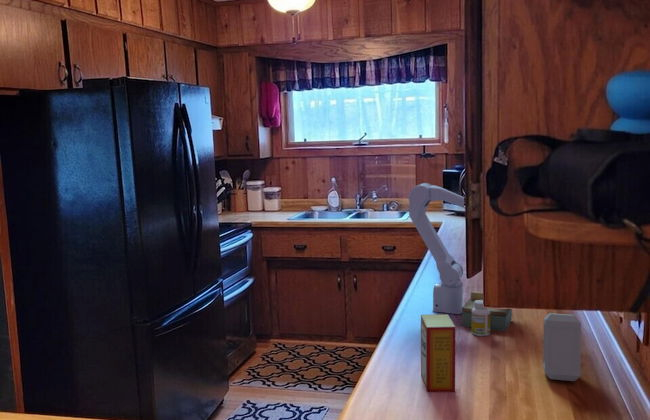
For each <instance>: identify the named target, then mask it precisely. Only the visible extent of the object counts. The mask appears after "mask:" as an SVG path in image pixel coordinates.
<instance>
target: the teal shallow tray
mask: <svg viewBox="0 0 650 420" xmlns="http://www.w3.org/2000/svg"><path fill="white" fill-rule="evenodd" d="M512 312H513V308H512V309H510V311H509V312H508V314H507V316H502V315H493V314H490V331H491V330H493V331H499V332H500V331H501V332H506V331H507V330H508V328H509V326H510V324H511V323H512V321H511V320H512V319H513V317H512V316H513V313H512ZM461 316H462V325H461V326H462V327H468V328H472V312H466V311H463V312H462V315H461ZM510 322H511V323H510Z"/></svg>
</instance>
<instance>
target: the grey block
mask: <svg viewBox="0 0 650 420" xmlns="http://www.w3.org/2000/svg"><path fill="white" fill-rule="evenodd" d="M542 329H543V331H542V332H543V333H542V335H543V338H542V339H543V340H542V343H543V344H542V345H543V346H542V349H543V350H542V370H543V371H544V374H545V375H546V376H547V377H548V378H549V379H550V380H557V381H559V380H560V381H567V382H568V381H570V382H575V381H576V380H578V379H579V378H580V377H582V372H581V370H582V367H581V365H582V359H581V358H582V353H581V352H582V322H581V321H580V320H579V319H578V317H576V315H574V314H570V313H569V314H566V313H552V312H549V313H548V314H546V315H545V316H544V318H543V328H542Z"/></svg>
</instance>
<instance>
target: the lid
mask: <svg viewBox="0 0 650 420" xmlns="http://www.w3.org/2000/svg"><path fill="white" fill-rule="evenodd" d="M476 300H483V293H482V291H474V290H473V291H471V292H470V298H469V299H468V300H467V301H466V302H465V304H464V305H463V307H462V311H466V312H472V309H473V308H474V307H475V306H474V301H476ZM488 309H489V310H490V314H493V315H502V316H507V314H508V312H509V311H510V309H492V308H488Z"/></svg>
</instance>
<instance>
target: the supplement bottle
mask: <svg viewBox="0 0 650 420" xmlns="http://www.w3.org/2000/svg"><path fill="white" fill-rule="evenodd" d="M474 306H475V307H474V308H473V309H472V327H471V334H472V335H474V336H477V337H486V336H489V335H490V334H491V329H490V310H489V309H488V308H484V307H483V300H476V301H474Z"/></svg>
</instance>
